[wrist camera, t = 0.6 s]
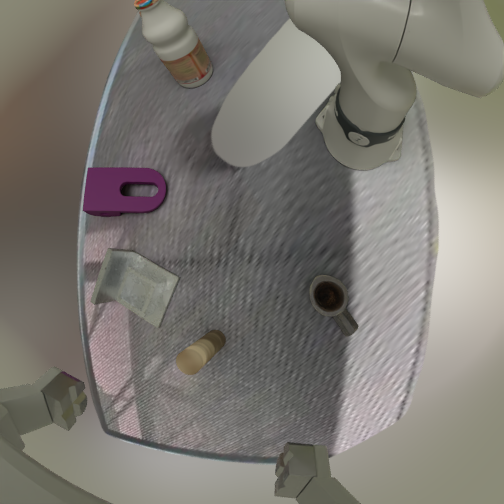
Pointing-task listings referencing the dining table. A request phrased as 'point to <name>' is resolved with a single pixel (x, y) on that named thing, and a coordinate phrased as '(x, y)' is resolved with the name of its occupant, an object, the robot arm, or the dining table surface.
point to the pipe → (332, 301)
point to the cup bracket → (135, 284)
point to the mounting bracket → (109, 191)
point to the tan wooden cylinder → (200, 352)
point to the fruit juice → (175, 42)
